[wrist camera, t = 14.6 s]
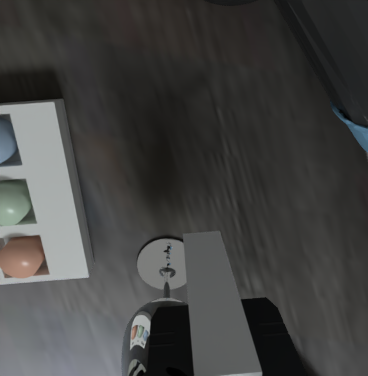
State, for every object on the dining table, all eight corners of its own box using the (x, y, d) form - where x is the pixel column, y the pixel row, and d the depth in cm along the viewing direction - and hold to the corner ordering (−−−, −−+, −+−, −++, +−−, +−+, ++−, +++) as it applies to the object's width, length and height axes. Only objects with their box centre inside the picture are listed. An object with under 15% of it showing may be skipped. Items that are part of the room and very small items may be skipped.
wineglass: (150, 227, 40) (133, 370, 22) (207, 249, 42) (239, 401, 23) (126, 277, 43) (94, 445, 24) (182, 296, 44) (192, 469, 25)
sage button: (-11, 179, 36) (-25, 188, 34) (30, 176, 36) (19, 185, 34) (-1, 216, 38) (-13, 227, 35) (38, 213, 38) (29, 224, 35)
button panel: (-73, 108, 34) (-96, 112, 31) (63, 98, 35) (53, 101, 32) (-19, 271, 42) (-33, 288, 39) (94, 262, 42) (88, 278, 39)
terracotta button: (5, 233, 39) (-7, 245, 36) (43, 230, 39) (33, 242, 36) (14, 265, 40) (3, 279, 38) (51, 262, 40) (42, 276, 38)
